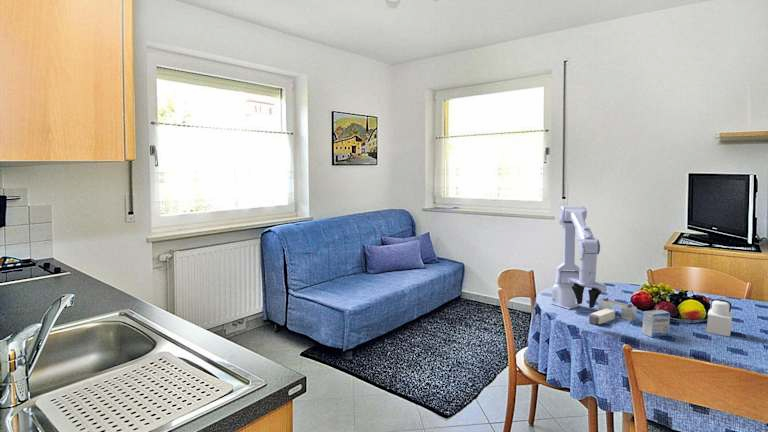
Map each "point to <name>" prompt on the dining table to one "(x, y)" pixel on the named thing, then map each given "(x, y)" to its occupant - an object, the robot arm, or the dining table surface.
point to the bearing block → (627, 310)
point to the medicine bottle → (719, 318)
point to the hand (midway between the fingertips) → (585, 305)
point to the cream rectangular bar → (602, 316)
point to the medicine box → (656, 323)
